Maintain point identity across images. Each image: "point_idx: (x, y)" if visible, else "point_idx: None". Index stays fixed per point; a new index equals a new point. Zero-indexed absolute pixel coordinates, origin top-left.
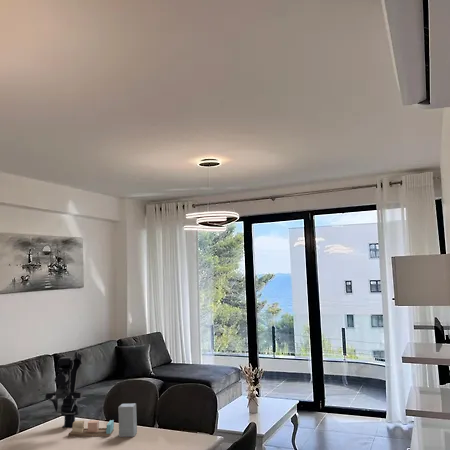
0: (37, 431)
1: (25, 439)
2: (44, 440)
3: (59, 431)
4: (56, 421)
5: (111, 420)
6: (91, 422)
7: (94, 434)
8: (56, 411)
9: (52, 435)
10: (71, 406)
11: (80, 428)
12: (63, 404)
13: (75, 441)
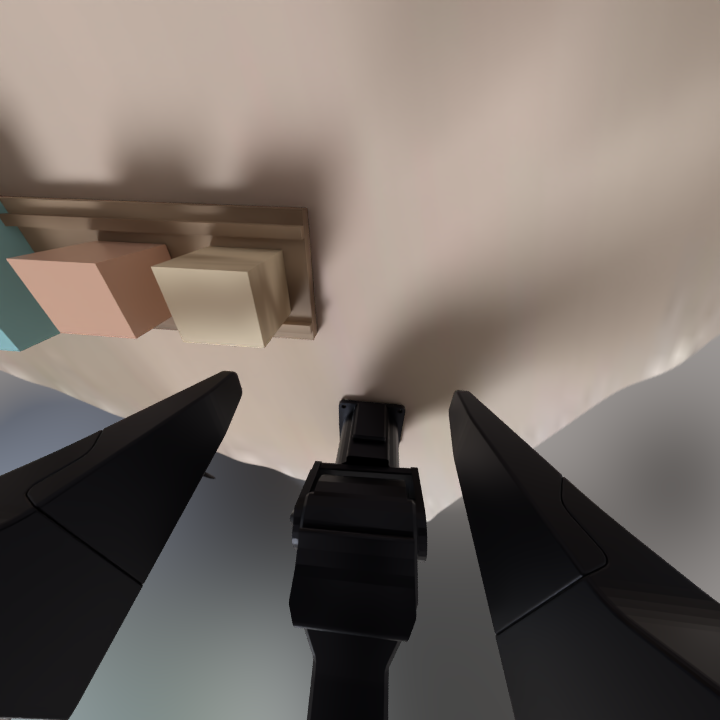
0: (553, 369)
1: (696, 170)
2: (506, 108)
3: (407, 349)
4: (450, 484)
5: (3, 344)
6: (67, 271)
7: (90, 200)
8: (458, 390)
9: (443, 268)
10: (147, 416)
11: (198, 253)
12: (405, 556)
13: (173, 27)
